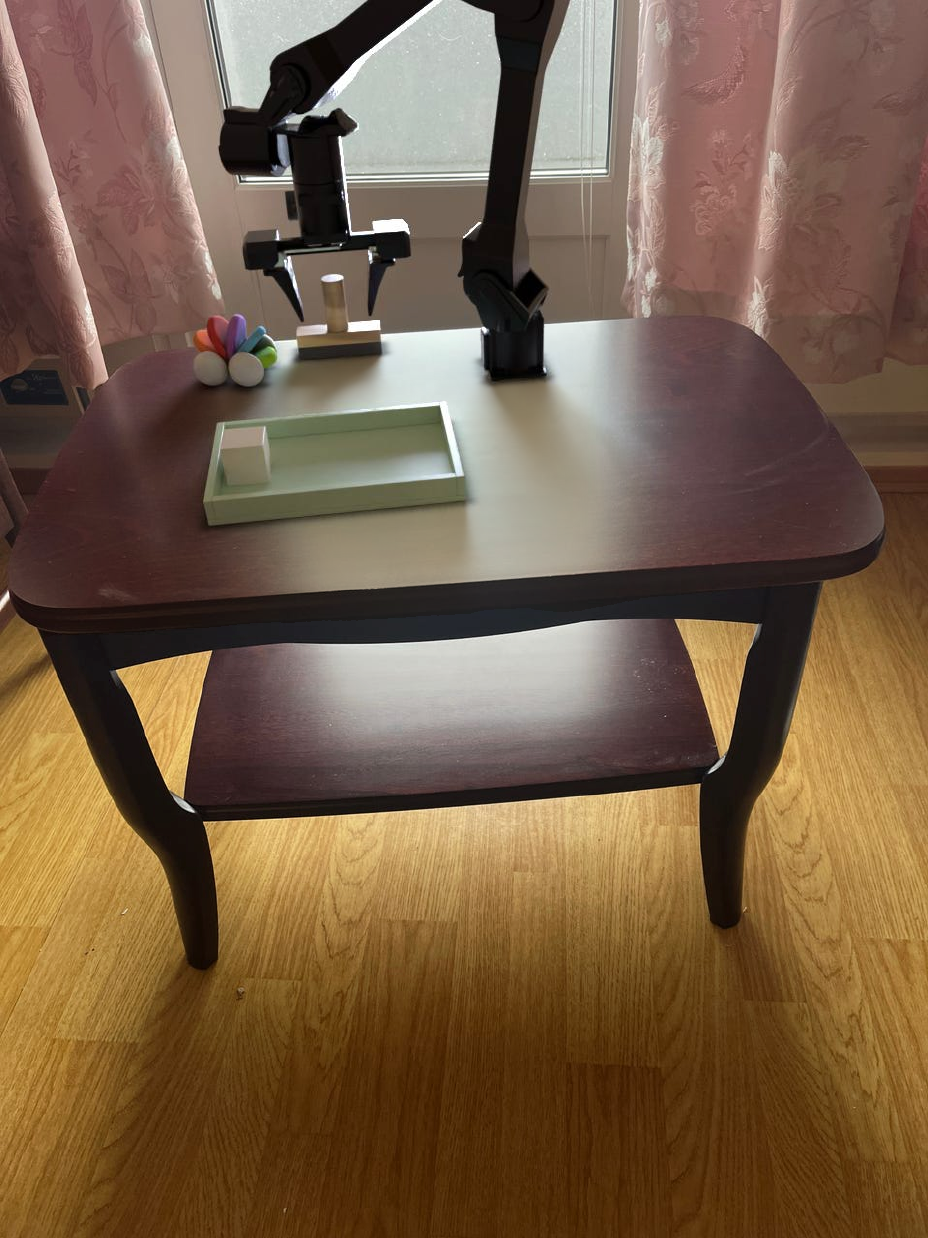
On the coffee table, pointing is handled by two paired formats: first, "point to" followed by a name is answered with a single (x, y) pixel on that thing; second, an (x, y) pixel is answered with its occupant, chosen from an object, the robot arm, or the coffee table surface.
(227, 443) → the chalk block
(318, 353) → the brush
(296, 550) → the coffee table surface
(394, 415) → the tray
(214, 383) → the rainbow petal wheeled toy
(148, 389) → the coffee table surface
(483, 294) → the robot arm
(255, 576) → the coffee table surface
